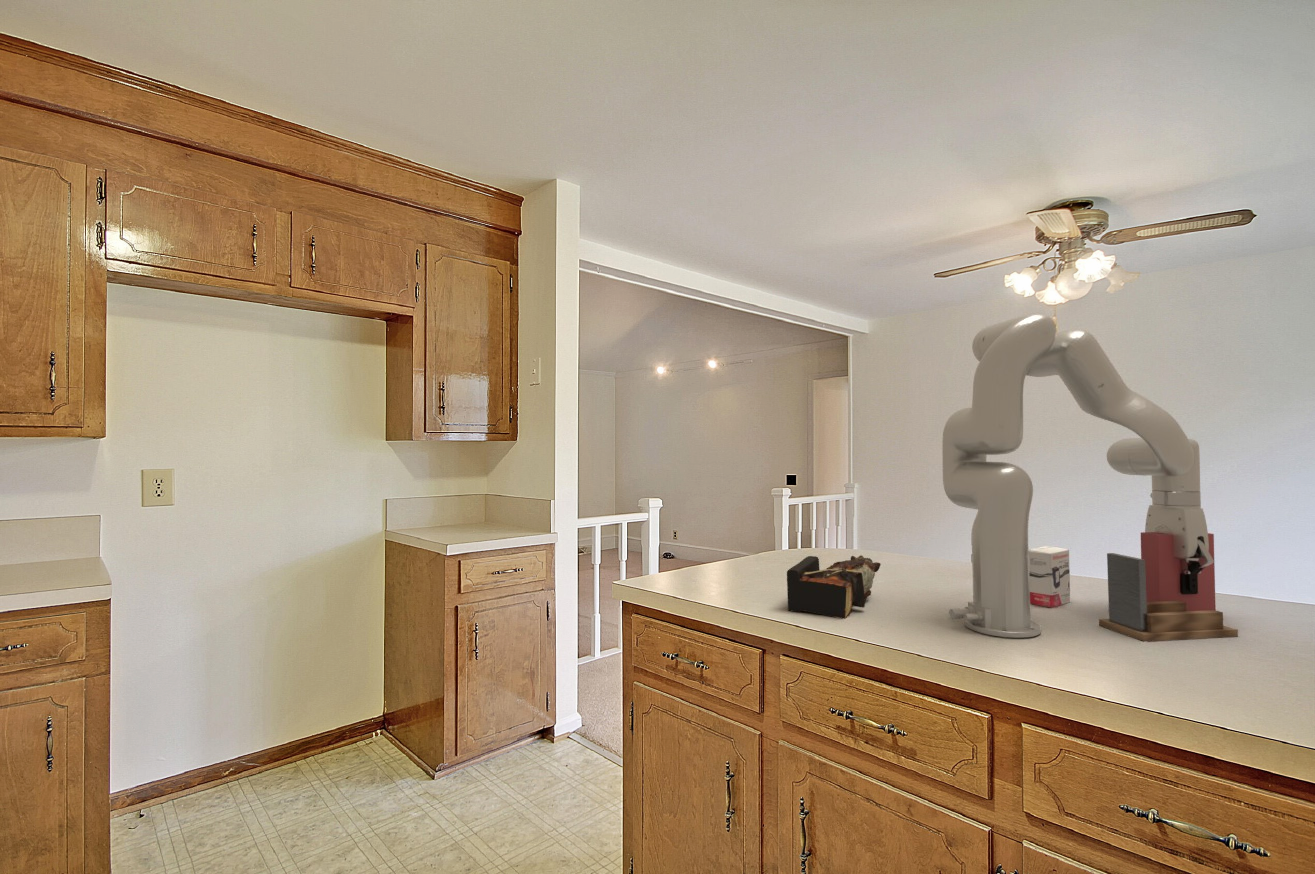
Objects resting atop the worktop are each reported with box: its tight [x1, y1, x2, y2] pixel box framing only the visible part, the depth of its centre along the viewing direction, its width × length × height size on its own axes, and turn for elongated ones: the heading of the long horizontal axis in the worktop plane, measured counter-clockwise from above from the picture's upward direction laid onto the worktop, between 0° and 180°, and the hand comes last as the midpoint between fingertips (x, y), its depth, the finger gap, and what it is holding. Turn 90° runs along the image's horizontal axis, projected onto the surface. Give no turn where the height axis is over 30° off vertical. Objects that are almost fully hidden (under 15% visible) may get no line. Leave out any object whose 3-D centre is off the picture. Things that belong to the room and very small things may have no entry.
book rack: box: [1098, 601, 1239, 642], centre depth 115 cm, size 18×10×4 cm, turn 95°
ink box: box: [1029, 545, 1071, 609], centre depth 137 cm, size 8×5×12 cm, turn 123°
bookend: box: [786, 555, 882, 619], centre depth 141 cm, size 15×11×25 cm
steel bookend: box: [1106, 552, 1147, 632], centre depth 115 cm, size 1×7×14 cm, turn 5°
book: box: [1140, 531, 1217, 611], centre depth 125 cm, size 12×4×16 cm, turn 95°
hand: (1178, 590), depth 125 cm, fingers closed on book, 4 cm apart
